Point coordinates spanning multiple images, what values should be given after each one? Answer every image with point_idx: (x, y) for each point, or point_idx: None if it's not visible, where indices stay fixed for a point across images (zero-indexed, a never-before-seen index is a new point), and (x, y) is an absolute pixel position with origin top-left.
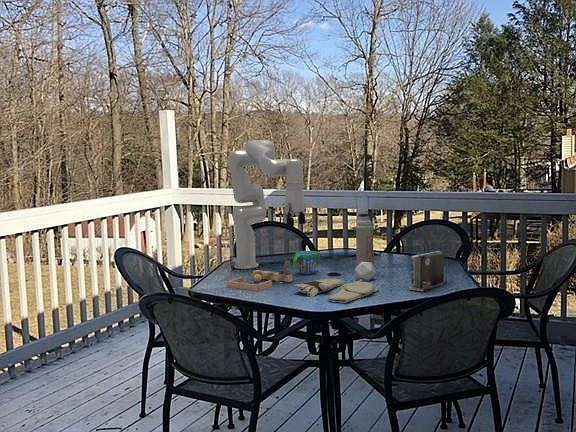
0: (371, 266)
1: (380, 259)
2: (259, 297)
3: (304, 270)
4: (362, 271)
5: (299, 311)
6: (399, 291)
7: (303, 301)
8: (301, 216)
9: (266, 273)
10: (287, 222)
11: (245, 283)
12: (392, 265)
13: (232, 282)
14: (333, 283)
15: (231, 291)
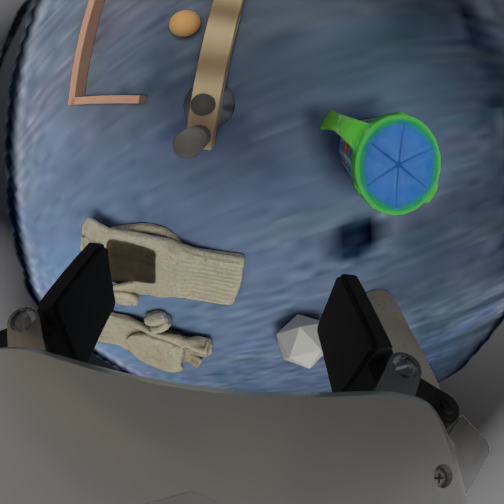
0: (298, 364)
1: (488, 288)
2: (38, 151)
3: (341, 150)
4: (281, 344)
5: (24, 275)
6: (212, 383)
7: (61, 261)
8: (345, 371)
9: (203, 42)
10: (70, 268)
11: (78, 54)
12: (435, 327)
13: (86, 9)
14: (178, 297)
15: (61, 41)
